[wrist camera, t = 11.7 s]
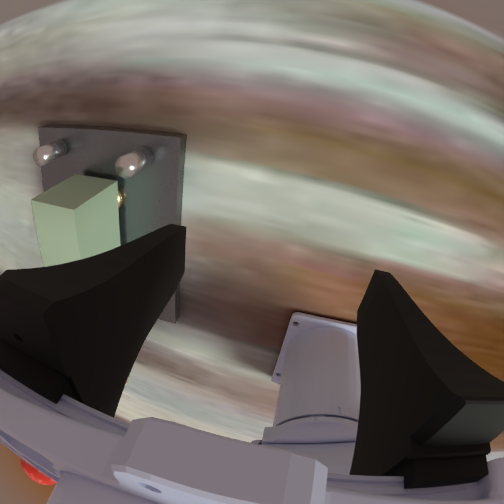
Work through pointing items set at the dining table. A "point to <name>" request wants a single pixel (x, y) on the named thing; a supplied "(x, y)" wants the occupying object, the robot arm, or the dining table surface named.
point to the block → (77, 219)
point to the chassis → (122, 175)
